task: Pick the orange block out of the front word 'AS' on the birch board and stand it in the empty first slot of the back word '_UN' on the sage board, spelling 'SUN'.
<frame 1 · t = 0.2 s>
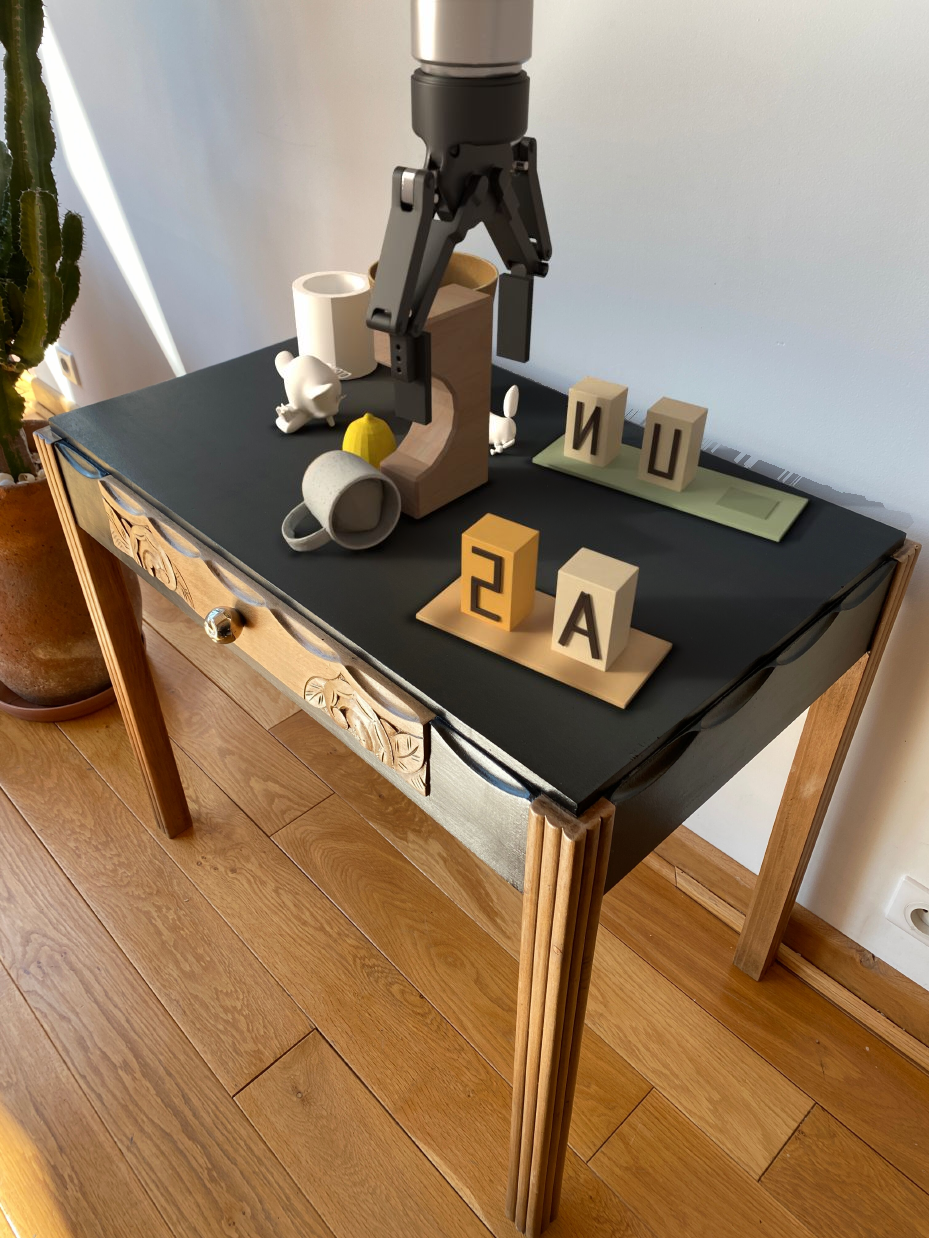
hand: (466, 387, 71), 20 cm above the table, tool pointing down, fingers open, 13 cm apart
mug: (343, 362, 124), on the table
decorative block: (435, 494, 97), on the table
U tile: (666, 478, 99), resting on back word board
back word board: (665, 482, 99), on the table
plant pot: (434, 402, 115), on the table
rabbit figurine: (498, 441, 107), on the table
A tile: (589, 647, 77), resting on front word board
orange block: (497, 610, 80), resting on front word board
ceramic mug: (340, 536, 91), on the table
figurine: (315, 424, 110), on the table
front word board: (541, 633, 79), on the table
wooden letter block: (591, 455, 103), resting on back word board
fruit: (371, 482, 99), on the table
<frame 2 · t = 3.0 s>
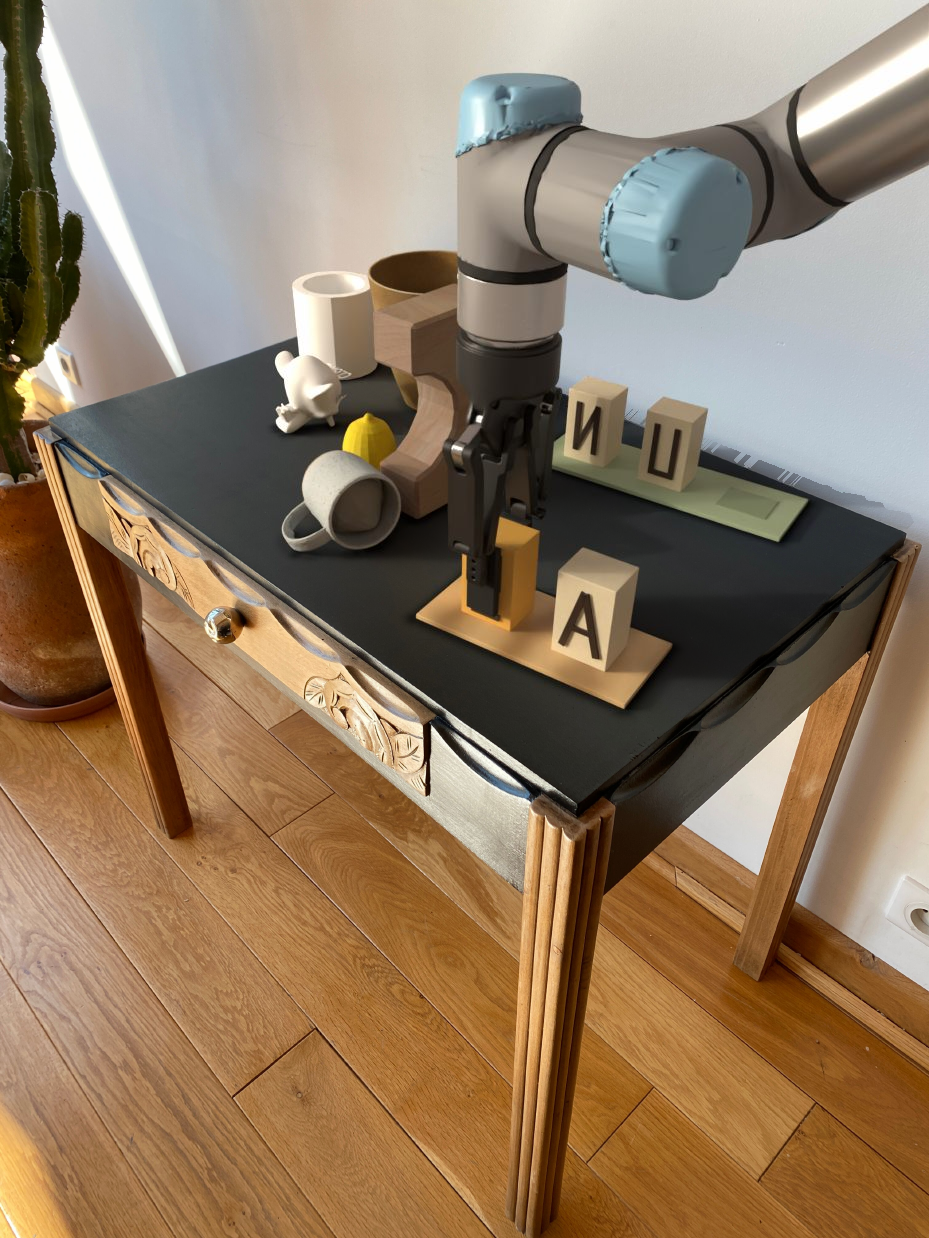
hand: (497, 594, 79), 2 cm above the table, tool pointing down, fingers closed on orange block, 4 cm apart
orange block: (497, 609, 80), point 1 cm above the table, touching front word board, gripper
everything else where it was.
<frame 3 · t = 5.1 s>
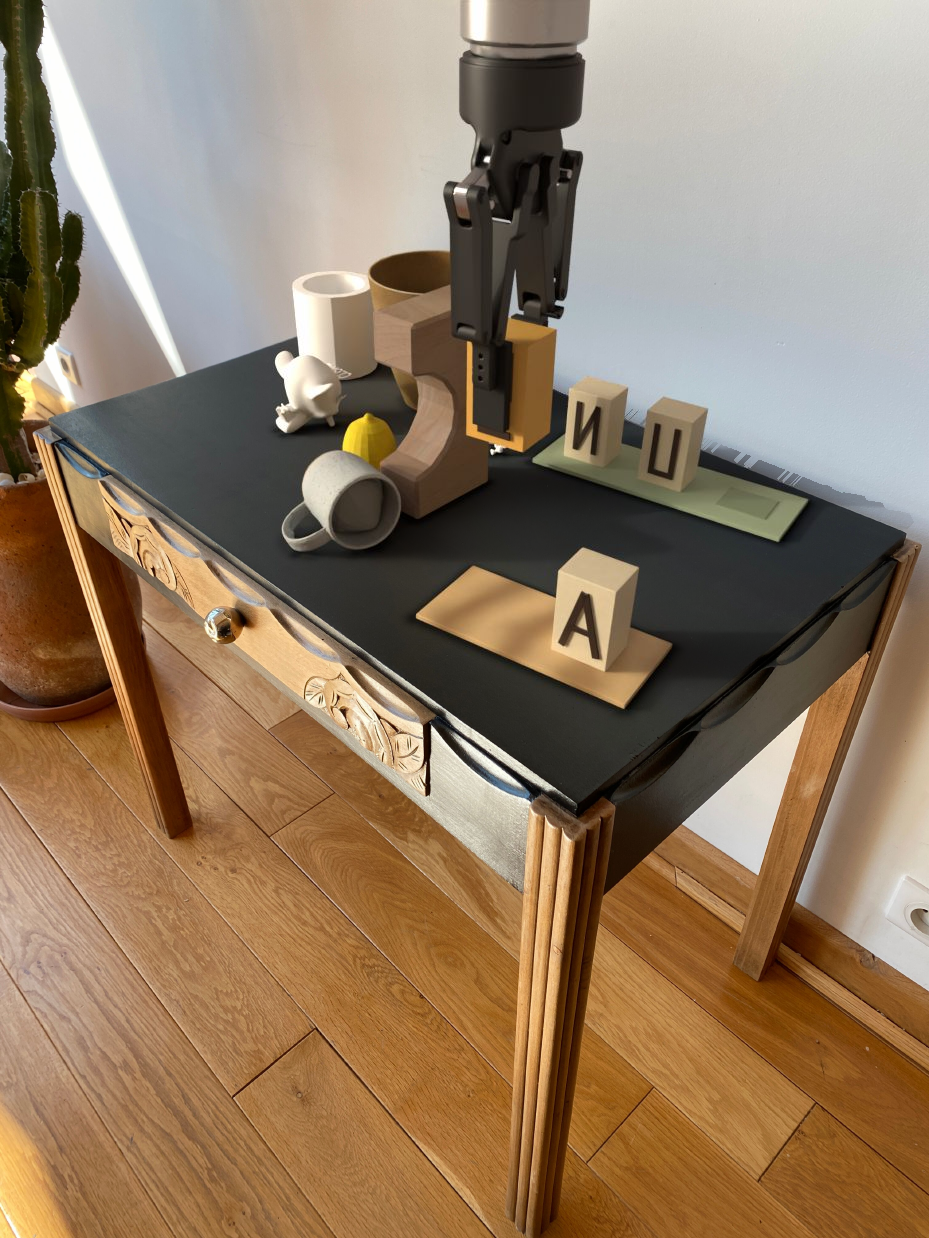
hand: (508, 413, 69), 19 cm above the table, tool pointing down, fingers closed on orange block, 4 cm apart
orange block: (508, 433, 70), point 17 cm above the table, touching gripper
everything else where it was.
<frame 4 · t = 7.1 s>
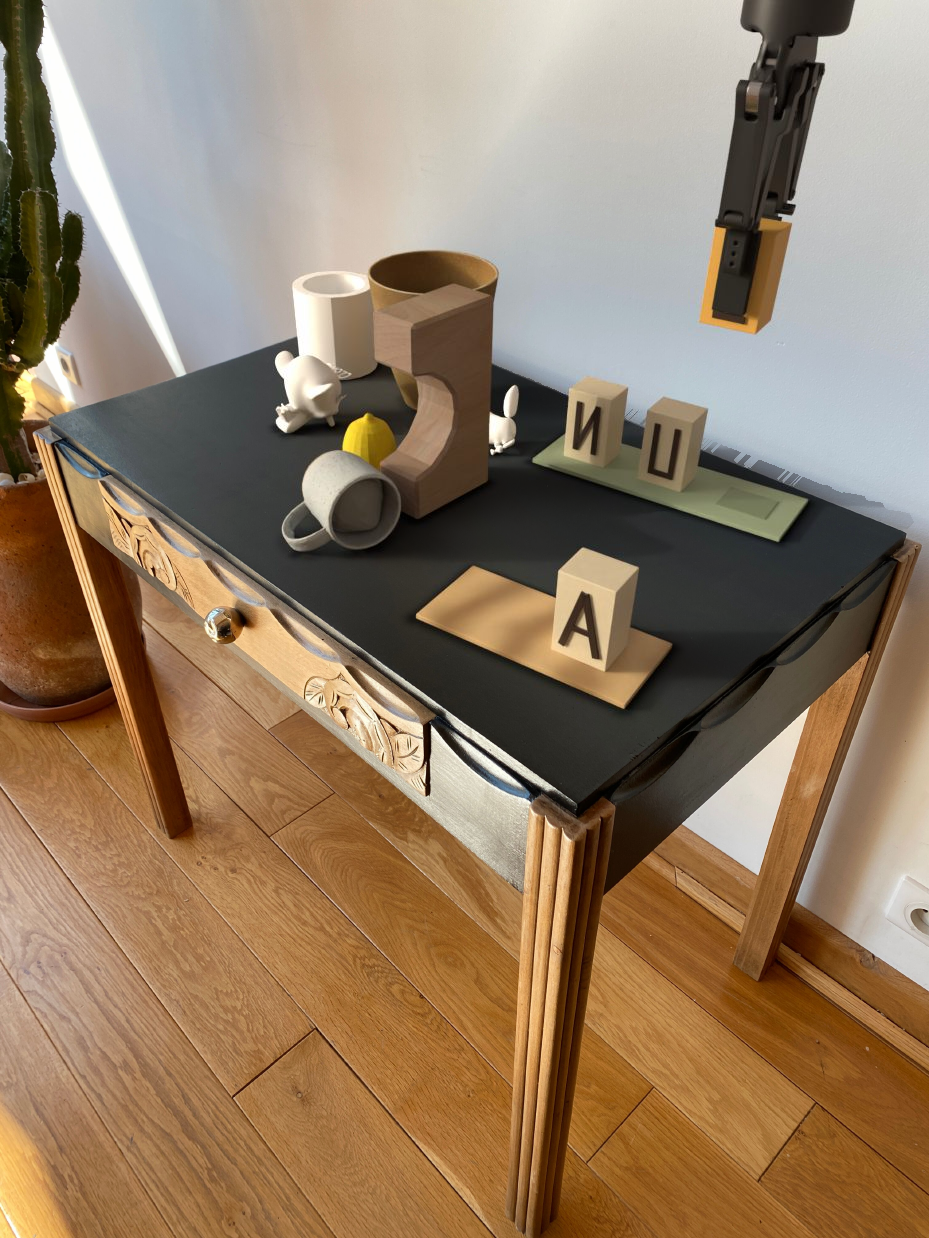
hand: (738, 302, 78), 23 cm above the table, tool pointing down, fingers closed on orange block, 4 cm apart
orange block: (734, 321, 79), point 21 cm above the table, touching gripper
everything else where it was.
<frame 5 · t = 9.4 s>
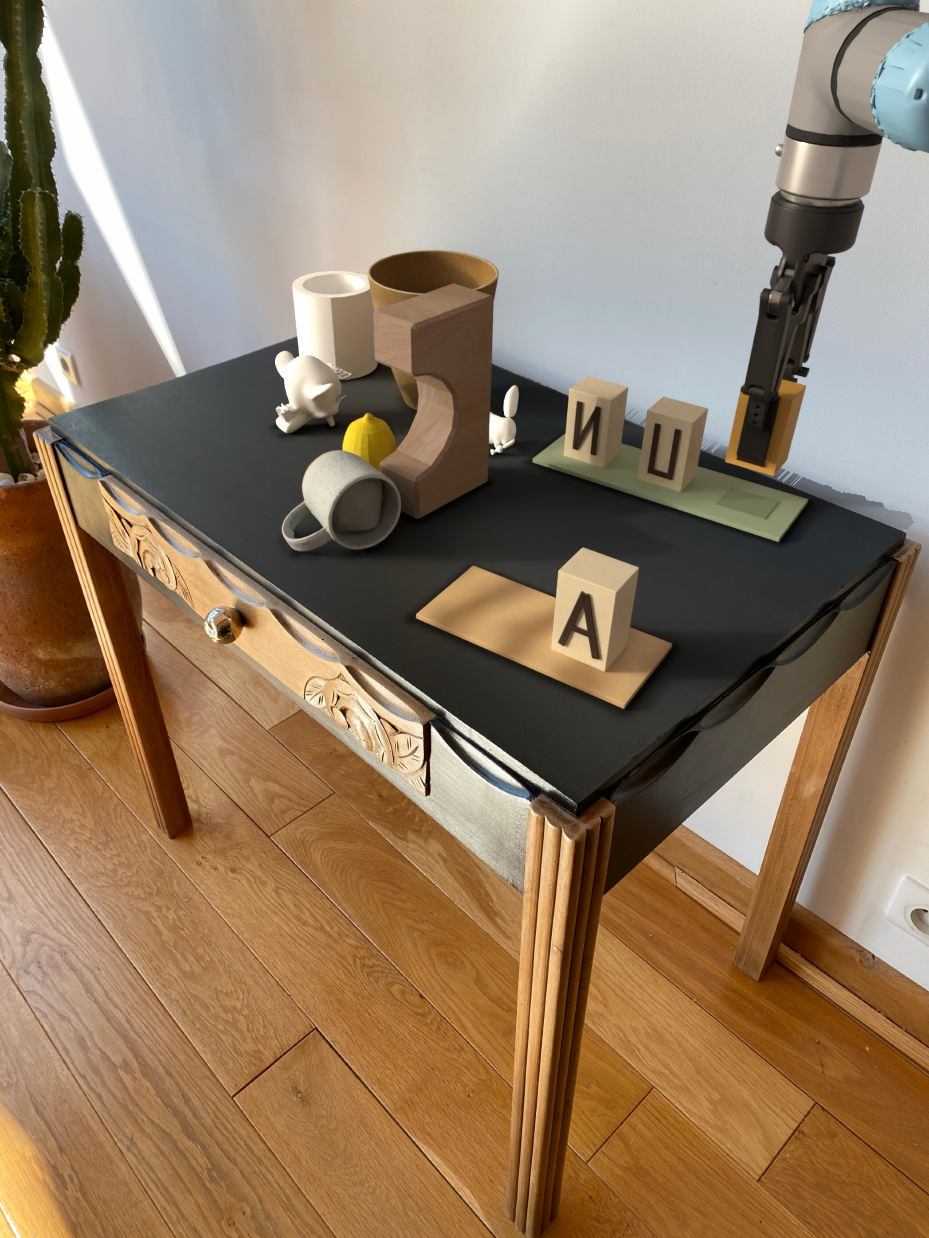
hand: (759, 446, 91), 7 cm above the table, tool pointing down, fingers closed on orange block, 4 cm apart
orange block: (756, 461, 92), point 5 cm above the table, touching gripper
everything else where it was.
when the fingers open (2 cm above the table, at t = 11.0 s): orange block stays where it is, resting on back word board.
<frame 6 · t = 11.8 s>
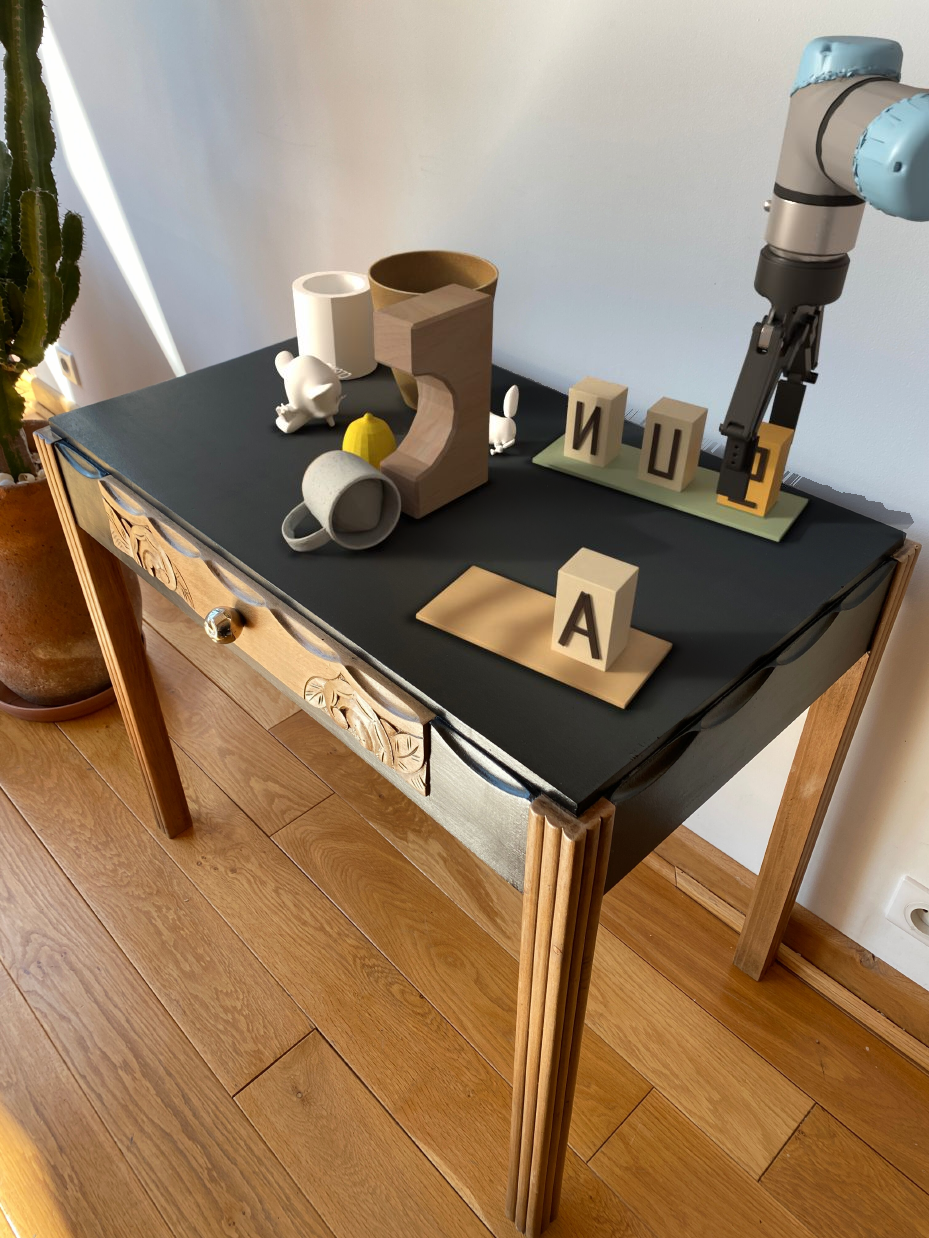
hand: (755, 468, 93), 5 cm above the table, tool pointing down, fingers open, 13 cm apart
orange block: (746, 501, 95), point 1 cm above the table, touching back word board
everything else where it was.
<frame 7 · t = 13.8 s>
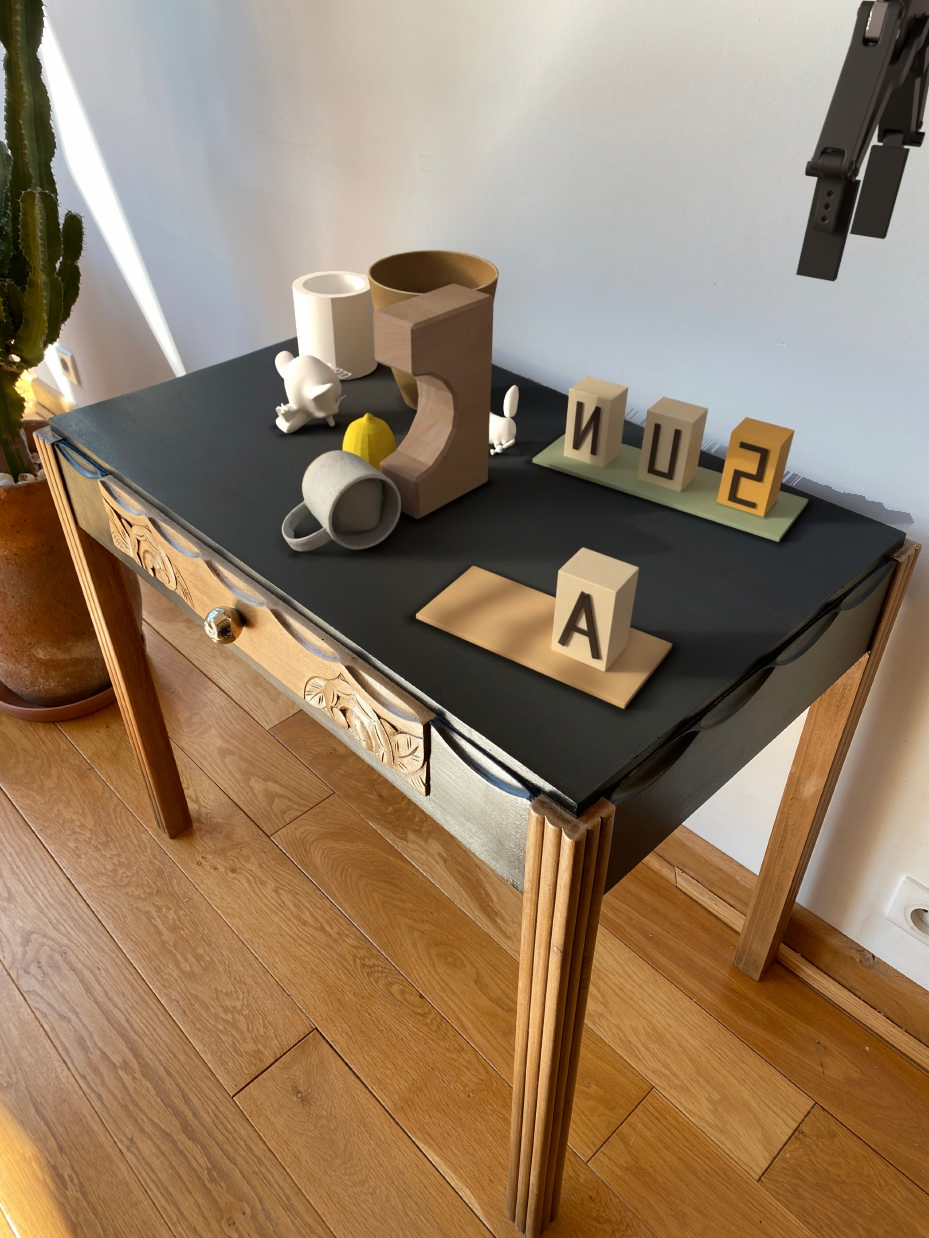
hand: (843, 255, 71), 28 cm above the table, tool pointing down, fingers open, 13 cm apart
nothing on the table moved.
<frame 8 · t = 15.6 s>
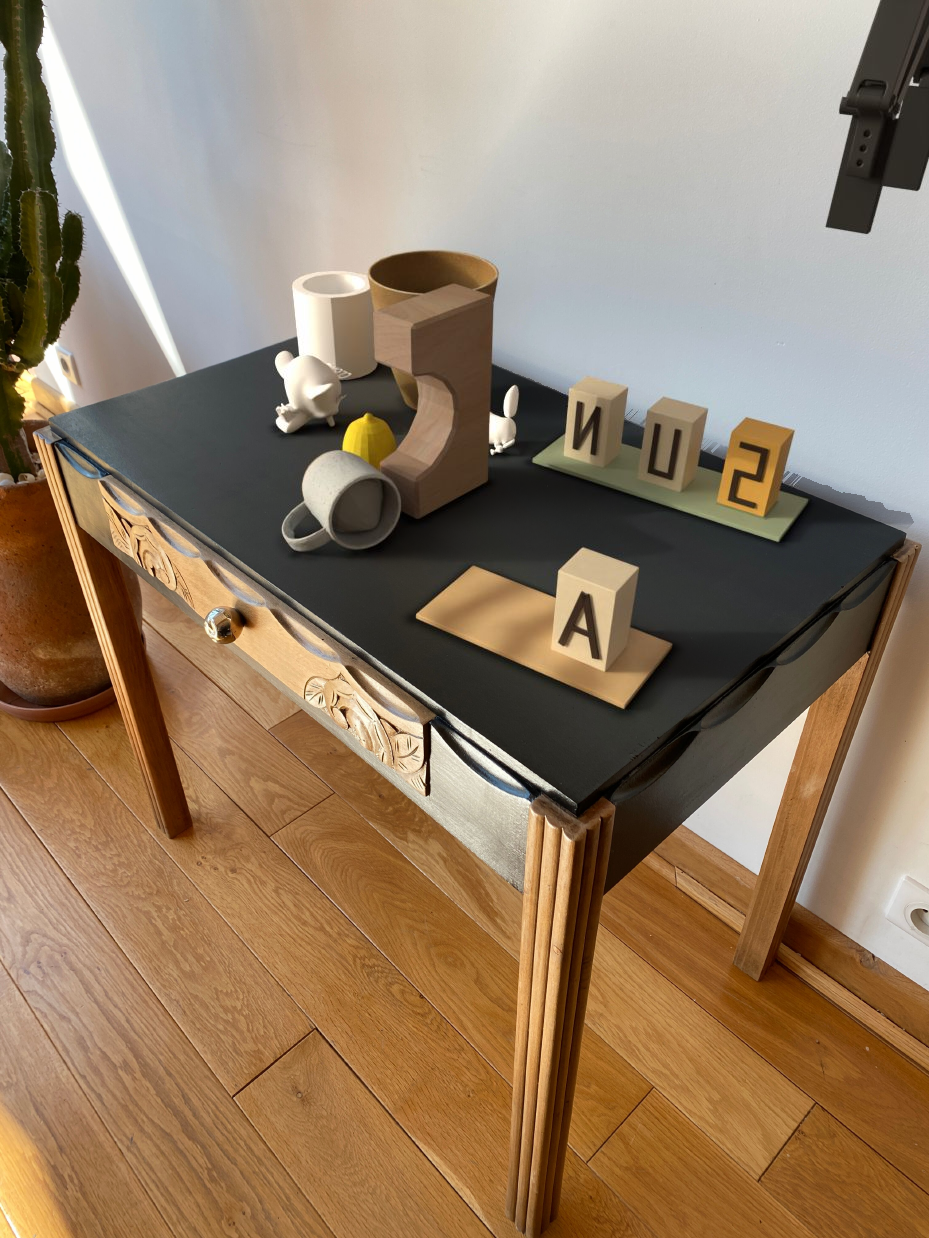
hand: (875, 207, 64), 33 cm above the table, tool pointing down, fingers open, 13 cm apart
nothing on the table moved.
at the end: orange block 0.2 cm from the target spot on the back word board, point 0.6 cm above the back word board's base; orange block tilted 0°; U tile moved 0.0 cm from its start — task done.
